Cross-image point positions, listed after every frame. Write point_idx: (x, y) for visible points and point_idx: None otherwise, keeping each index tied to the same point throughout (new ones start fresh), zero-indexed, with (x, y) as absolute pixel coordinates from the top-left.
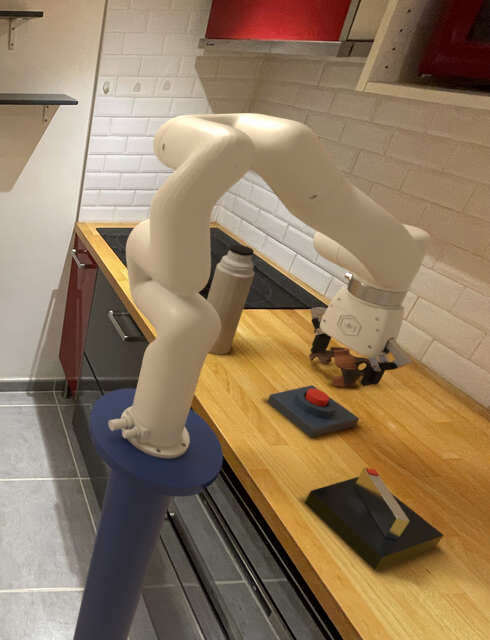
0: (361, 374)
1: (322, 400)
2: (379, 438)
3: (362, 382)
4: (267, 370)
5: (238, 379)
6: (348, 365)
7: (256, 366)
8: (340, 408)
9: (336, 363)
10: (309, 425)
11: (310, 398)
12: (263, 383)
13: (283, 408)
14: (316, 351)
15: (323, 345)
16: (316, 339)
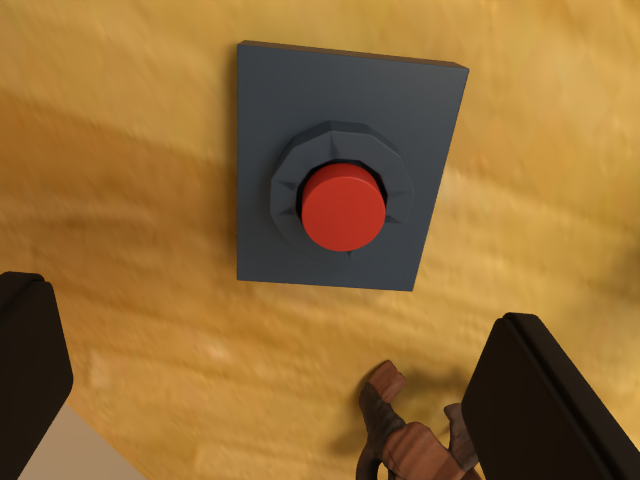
0: (368, 450)
1: (309, 193)
2: (183, 275)
3: (6, 286)
4: (549, 243)
5: (604, 73)
6: (398, 450)
7: (588, 225)
8: (292, 268)
9: (425, 430)
10: (262, 46)
11: (349, 170)
12: (523, 159)
13: (388, 57)
14: (500, 342)
15: (506, 439)
16: (625, 450)
